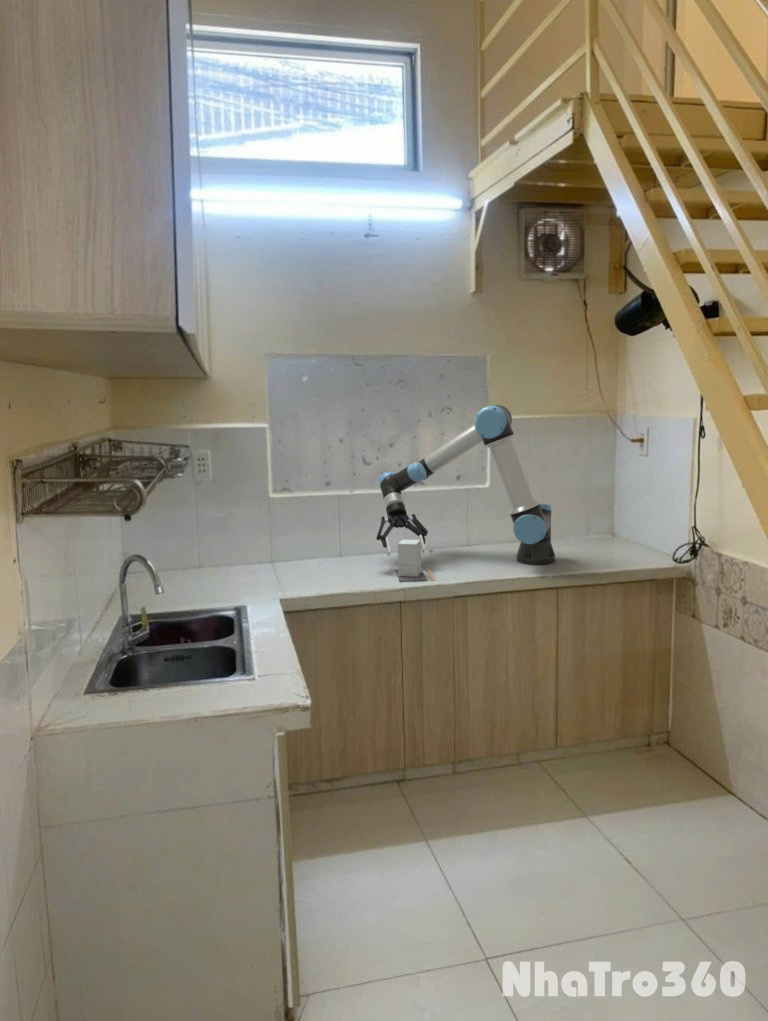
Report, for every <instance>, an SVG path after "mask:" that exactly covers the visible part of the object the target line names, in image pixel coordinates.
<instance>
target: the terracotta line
mask: <svg viewBox="0 0 768 1021" xmlns="http://www.w3.org/2000/svg"><path fill="white" fill-rule="evenodd" d="M426 569H427V570H426V572H427V571H428V572H427V574H428V573H429V574H428V575H430V576H429V577H430V579H431V581H432V580H434V581H436V578H435V576H434V575H433V573H432V570H431V569H430V568H428V567H427V568H426Z"/></svg>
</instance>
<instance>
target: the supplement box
mask: <svg viewBox="0 0 768 1021" xmlns="http://www.w3.org/2000/svg"><path fill="white" fill-rule="evenodd" d="M397 560H398V562H397V565H398V569H399V576H409V577H418V575H419V574H420V573H421V572H422V571H423V568H422V551H421V540H419V539H402V540H400V541H399V542H398V543H397Z"/></svg>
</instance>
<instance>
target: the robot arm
mask: <svg viewBox="0 0 768 1021" xmlns="http://www.w3.org/2000/svg"><path fill="white" fill-rule="evenodd" d="M512 422H513V416H512V413H511V412H510V410H509V409H508V408H507V407H506V406H504V405H501V404H494V405H488V406H485V407H483V408H482V409H480V410H479V411H478V412H477V413H476V416H475V418H474V424H473V425H471V426H470V427H468V428H467V429H465V430H464V431H462V432H461V433H459V434H458V435H457V436H455V437H453V438H452V439H451V440H449V441H447V442H446V443H444V444H443V445H442V446H440V447H439V448H437V449H436V450H434V451H433V452H431V453H430V454H428V455H427V456H425V457H424V458H422V459H420V460H418V461H416V462H414V463H413V462H412V463H411V464H409V465H408V466H406V467H404V468H403V469H401V470H399V471H398V472H394V471H387V472H383V473H382V474H381V475H380V476H379V479H378V480H379V481H378V482H379V488H380V491H381V494H382V498H383V503H384V507H385V511H386V514H387V517H385V516H384V515H383V516H381V518H380V526H379V528H378V531H377V534H376V541H379V540H380V542H381V544H382V547H383V548H385V549H386V553H387V554H386V555H387V556H389V557H390V555H391V553H392V551H391V547H390V543H389V539H388V536H389V535H390V533H391V532H392V530H393V529H394V528H396V529H399V528H404V527H405V528H406V529H408V530H410V531H411V532H412V533H413V534H415V535H416V536H417V537H418V539H417V540H421V554H422V553H425V551H426V546H425V544H426V537H427V535H428V533H429V530H427V528H426V526H424V525H423V524H422V523H421V522H420V520H419V519H417V516H416V514H415V513H412V514H411V515H408V513H407V510H406V506H405V502H404V499H403V495H402V492H403V491H405V490H406V489H409V488H410V487H412V486H414V485H415V484H418V483H421V482H422V481H426V480H427V479H428V478H430V477H431V476H432V475H434V474H435V473H437V472H439V471H440V470H441V469H443V468H445V467H446V466H448V465H449V464H450V463H452V462H453V461H455V460H456V459H457V460H458V458H459V457H461V456H463V455H464V454H466V453H468V452H469V451H470V450H472V449H473V448H475V447H476V446H478V445H479V444H481V443H482V442H483V445H484V447H486V448H488V449H490V452H491V455H492V457H493V460H494V463H495V465H496V469H497V471H498V473H499V476H500V479H501V482H502V485H503V488H504V490H505V492H506V496H507V498H508V501H509V503H510V506H511V509H510V511H509V515H510V518H511V521H512V524H513V526H512V527H513V528H512V530H513V534H514V536H515V537H516V539H517V540H518V541H519V542H520V543H519V547H518V549H517V552H516V561H517V562H519V563H521V564H526V565H535V566H536V565H538V566H539V565H549V564H553V563H555V561H556V554H555V551H554V547H553V544H552V514H553V510H552V505H551V504H549V503H539V502H538V501H536V500H535V499H534V497H533V495H532V492H531V489H530V486H529V484H528V481H527V479H526V478H527V477H526V475H525V473H524V470H523V467H522V465H521V461H520V459H519V456H518V454H517V451H516V448H515V445H514V443H513V438H514V436H515V433H514V430H513V428H512ZM411 522H412V523H411ZM386 523H389V525H388V527H387V528H386V530H385V531H384V533H383V529H384V527H385V526H384V525H385V524H386ZM382 533H383V534H382Z"/></svg>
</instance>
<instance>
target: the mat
mask: <svg viewBox="0 0 768 1021" xmlns="http://www.w3.org/2000/svg"><path fill="white" fill-rule="evenodd" d="M395 573H396V575H397V579H398V578H399V579H398V581H399V582H400V581H413V582H425V581H424V580H427V581H428V579H427V577H426V575H425V573H424V571H423V570H422V572H421V573H420V574H419V575H418V577H409V576H399V568H398V569H395Z"/></svg>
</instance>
